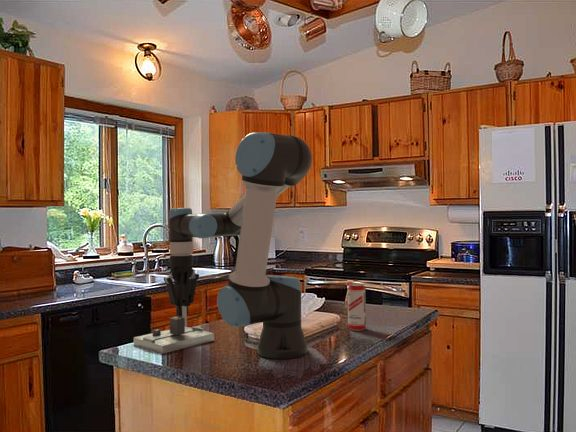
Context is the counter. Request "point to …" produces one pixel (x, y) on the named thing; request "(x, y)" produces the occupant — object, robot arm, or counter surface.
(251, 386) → the counter surface
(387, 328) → the counter surface
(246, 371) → the counter surface
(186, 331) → the console
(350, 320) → the beer can
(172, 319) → the fader tab
